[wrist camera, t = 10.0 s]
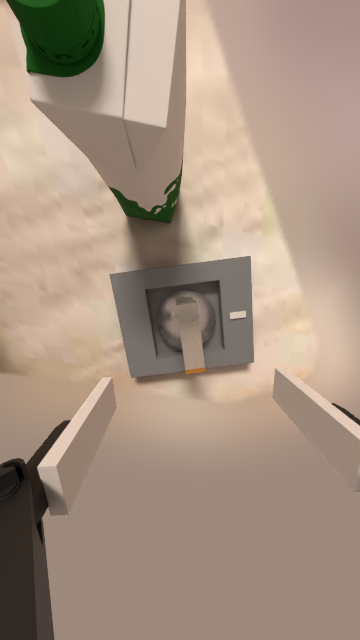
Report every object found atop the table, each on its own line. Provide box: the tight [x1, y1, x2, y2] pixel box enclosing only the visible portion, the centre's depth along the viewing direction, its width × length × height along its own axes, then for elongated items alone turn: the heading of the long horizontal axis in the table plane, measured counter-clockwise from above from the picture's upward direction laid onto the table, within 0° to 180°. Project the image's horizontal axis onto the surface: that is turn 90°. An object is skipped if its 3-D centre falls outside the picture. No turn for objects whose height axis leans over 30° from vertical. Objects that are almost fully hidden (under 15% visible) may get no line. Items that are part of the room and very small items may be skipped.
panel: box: [110, 256, 254, 378], centre depth 29 cm, size 22×18×3 cm
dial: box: [157, 290, 216, 374], centre depth 25 cm, size 10×10×10 cm
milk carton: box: [6, 0, 186, 223], centre depth 17 cm, size 9×9×20 cm
